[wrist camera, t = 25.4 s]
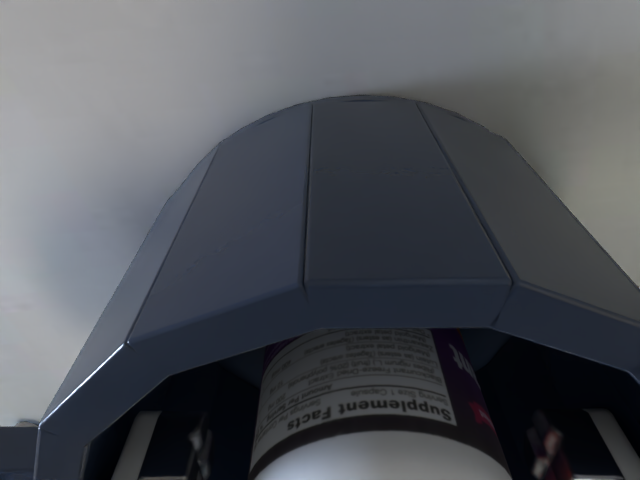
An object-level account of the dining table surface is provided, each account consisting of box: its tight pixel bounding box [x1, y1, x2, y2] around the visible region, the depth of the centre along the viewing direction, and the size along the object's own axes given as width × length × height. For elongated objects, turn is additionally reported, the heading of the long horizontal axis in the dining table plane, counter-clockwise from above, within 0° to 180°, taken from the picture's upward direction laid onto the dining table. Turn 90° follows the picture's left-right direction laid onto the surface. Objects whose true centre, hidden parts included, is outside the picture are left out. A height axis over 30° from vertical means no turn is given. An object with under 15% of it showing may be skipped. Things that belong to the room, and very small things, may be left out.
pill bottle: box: [247, 328, 512, 480], centre depth 11 cm, size 5×5×10 cm
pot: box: [0, 95, 640, 480], centre depth 12 cm, size 13×18×8 cm
